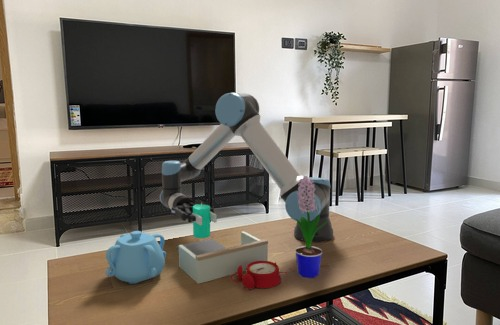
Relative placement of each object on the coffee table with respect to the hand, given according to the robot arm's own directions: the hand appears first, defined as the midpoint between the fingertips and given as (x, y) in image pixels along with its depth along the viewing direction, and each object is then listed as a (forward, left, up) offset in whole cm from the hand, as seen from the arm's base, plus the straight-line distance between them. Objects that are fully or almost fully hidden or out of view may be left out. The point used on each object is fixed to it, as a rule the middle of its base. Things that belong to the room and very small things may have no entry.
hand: (208, 219), depth 127 cm
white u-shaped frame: (0, +10, -12) cm, 16 cm away
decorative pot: (+25, +2, -13) cm, 28 cm away
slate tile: (0, -5, -12) cm, 13 cm away
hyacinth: (-19, +30, -13) cm, 38 cm away
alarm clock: (-3, +25, -13) cm, 28 cm away
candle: (0, -5, -7) cm, 9 cm away
